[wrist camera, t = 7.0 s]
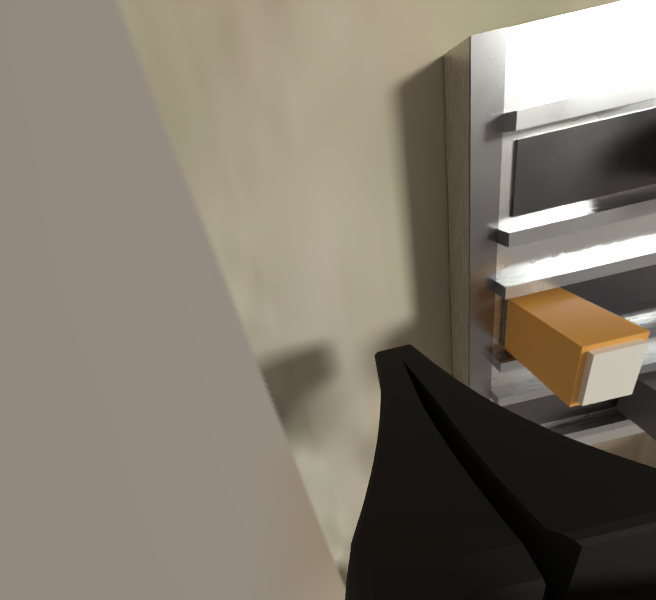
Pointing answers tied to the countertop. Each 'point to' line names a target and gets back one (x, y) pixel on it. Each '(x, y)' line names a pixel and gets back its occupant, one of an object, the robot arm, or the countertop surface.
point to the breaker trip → (575, 346)
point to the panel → (551, 192)
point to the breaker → (641, 403)
